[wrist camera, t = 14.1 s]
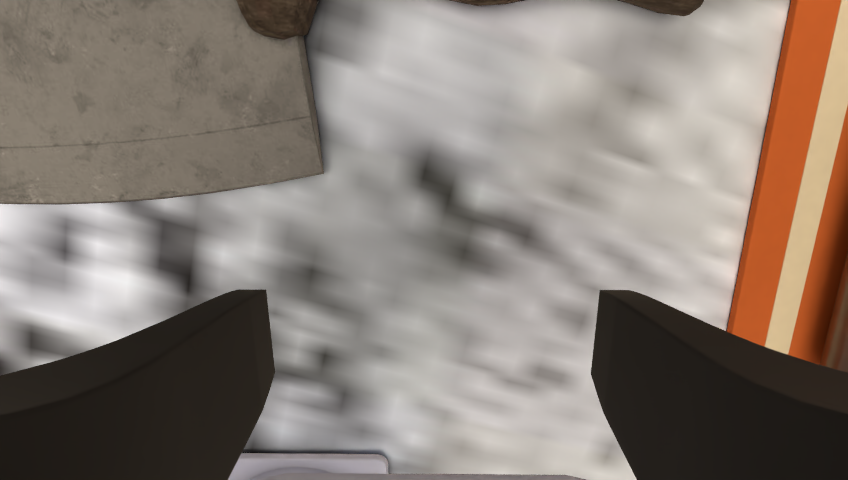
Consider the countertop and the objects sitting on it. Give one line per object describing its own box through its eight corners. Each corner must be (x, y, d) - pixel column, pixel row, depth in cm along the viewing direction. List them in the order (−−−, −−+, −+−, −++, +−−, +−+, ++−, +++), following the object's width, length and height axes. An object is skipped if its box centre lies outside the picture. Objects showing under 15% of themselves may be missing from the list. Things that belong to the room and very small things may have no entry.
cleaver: (703, -178, 16) (741, -211, 14) (687, 144, 19) (716, 153, 17) (-191, -58, 18) (-271, -73, 16) (-77, 219, 21) (-131, 236, 19)
